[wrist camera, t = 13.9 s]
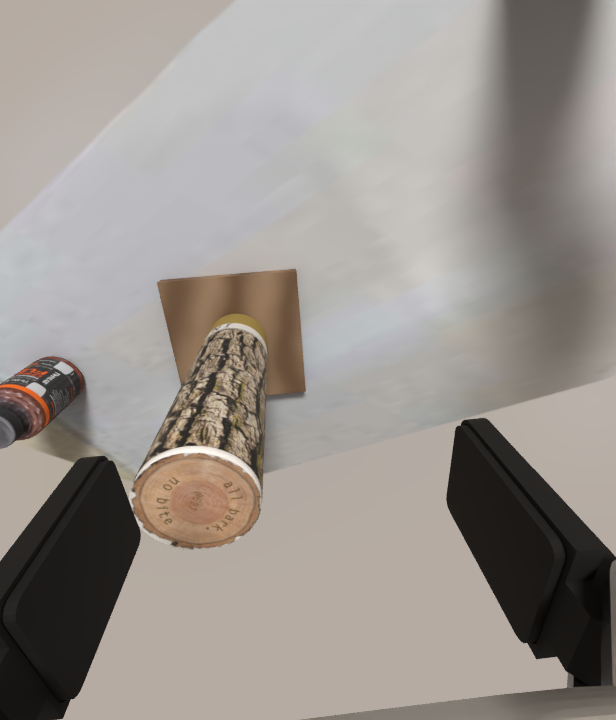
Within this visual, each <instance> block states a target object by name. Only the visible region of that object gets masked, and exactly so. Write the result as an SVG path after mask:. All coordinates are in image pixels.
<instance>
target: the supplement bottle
mask: <svg viewBox="0 0 616 720" xmlns="http://www.w3.org/2000/svg"><path fill="white" fill-rule="evenodd" d="M82 389H83V377H82V375H81V373H80V371H79V370H78V368H77V367H76V366H75V365H73V364H72V363H71V362H69V361H67V360H65V359H62V358H59V357H44V358H41V359H39V360H37V361H35V362H33V363H32V364H30V365H29V366H28V367H26V368H24V369H23V370H21V371H20V372H18V373H17V374H15V375H14V376H12V377H11V378H9V379H7V380H6V381H4V382H3V383H1V384H0V449H1V448H5V447H8V446H9V445H11V444H12V443H13V442H15V441H16V440H25V439H29V438H31V437H33V436H35V435H37V434H38V433H39V432H40V431H42V430H43V429H44V428H45V427H46V426H47V425H48V424H49V423H50V422H51V421H52V420H53V419H54V418H55V417H56V416H57V415H58V414H59V413H60V412H61V411H62V410H63V409H65V408H66V407H67V406H68V405H69V404H70V403H71V402H72V401H73V400H74V399H75V398H76V397H77V396H78V395H79V394H80V392H81V391H82Z"/></svg>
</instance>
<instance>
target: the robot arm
mask: <svg viewBox="0 0 616 720" xmlns="http://www.w3.org/2000/svg"><path fill="white" fill-rule="evenodd" d="M447 505H448V508H449V511H450V513H451V515H452V517H453V518H454V520H455V522H456V524H457V526H458V528H459V530H460V531H461V533H462V535H463V537H464V539H465V541H466V543H467V545H468V546H469V548H470V550H471V552H472V554H473V555H474V557H475V559H476V561H477V563H478V565H479V567H480V569H481V570H482V572H483V574H484V576H485V578H486V579H487V582H488V584H489V585H490V587H491V589H492V591H493V593H494V595H495V596H496V598H497V600H498V602H499V604H500V606H501V608H502V610H503V611H504V613H505V615H506V617H507V619H508V621H509V623H510V624H511V626H512V628H513V630H514V632H515V634H516V635H517V637H518V638H519V640H520V641H521V642H523V643H528V645H529V647H530V648H531V650H532V652H533V654H534V656H535V658H536V659H540V658H549V657H558V659H559V660H560V662H561V663H562V665H563V667H564V669H565V670H566V671H567V672H568V680H567V688H564V689H554V690H544V691H534V692H525V693H514V694H504V695H495V696H487V697H479V698H471V699H463V700H454V701H447V702H438V703H430V704H422V705H414V706H405V707H398V708H389V709H381V710H374V711H365V712H357V713H350V714H342V715H334V716H326V717H318V718H310V719H303V720H616V557H615V556H614V555H613V554H612V552H611V551H610V550H609V549H608V548H607V547H606V546H605V545H604V544H603V543H602V542H601V541H600V539H599V538H598V537H596V535H595V534H594V533H593V532H592V531H591V530H590V529H589V528H588V527H587V526H586V524H584V522H583V521H582V520H581V519H580V518H579V517H578V516H577V515H576V514H575V513H574V512H573V510H572V509H571V508H570V507H569V506H568V505H567V504H566V503H565V502H564V501H563V500H562V498H560V496H559V495H558V494H557V493H556V492H555V491H554V490H553V489H552V488H551V487H550V486H549V484H548V483H547V482H546V481H545V480H544V479H543V478H542V477H541V476H540V475H539V474H538V473H537V472H536V470H535V469H533V468H532V467H531V466H530V465H529V464H528V462H527V461H526V460H525V459H524V458H523V457H522V456H521V455H520V454H519V453H518V452H517V451H516V449H515V448H514V447H513V446H512V445H511V444H510V443H509V442H508V441H507V440H506V439H505V438H504V437H503V435H502V434H501V433H500V432H499V431H498V430H497V429H496V428H495V427H494V426H493V425H492V424H491V423H490V421H489V420H487V419H485V418H479V419H469V420H464V421H463V422H462V423H461V426H457V427H456V430H455V438H454V445H453V452H452V459H451V467H450V474H449V482H448V489H447ZM140 537H141V534H140V529H139V526H138V523H137V521H136V518H135V516H134V513H133V510H132V508H131V505H130V502H129V500H128V497H127V494H126V492H125V489H124V487H123V484H122V481H121V479H120V476H119V473H118V471H117V468H116V466H115V463H114V462H113V461H109V460H108V459H107V458H106V457H105V456H96V457H86V458H80V459H79V460H77V461H76V463H75V464H74V465H73V467H72V468H71V469H70V470H69V472H68V473H67V474H66V476H65V477H64V478H63V480H62V481H61V482H60V484H59V485H58V486H57V488H56V489H55V490H54V491H53V493H52V494H51V495H50V497H49V498H48V499H47V501H46V502H45V504H44V505H43V506H42V507H41V509H40V510H39V511H38V513H37V514H36V515H35V516H34V518H33V519H32V521H31V522H30V523H29V524H28V526H27V527H26V528H25V530H24V531H23V532H22V534H21V535H20V536H19V537H18V539H17V540H16V541H15V543H14V544H13V545H12V547H11V548H10V549H9V551H8V552H7V553H6V555H5V556H4V557H3V558H2V560H1V561H0V720H57V719H63V717H64V714H65V712H66V709H67V707H68V705H69V702H70V700H71V699H74V698H75V697H76V696H77V695H78V694H79V692H80V690H81V688H82V686H83V683H84V681H85V678H86V676H87V673H88V671H89V668H90V666H91V663H92V661H93V658H94V656H95V653H96V651H97V649H98V646H99V643H100V641H101V639H102V636H103V634H104V631H105V628H106V626H107V623H108V621H109V619H110V616H111V613H112V611H113V609H114V606H115V603H116V601H117V599H118V596H119V594H120V591H121V589H122V586H123V584H124V581H125V579H126V576H127V573H128V571H129V569H130V566H131V564H132V561H133V559H134V556H135V554H136V551H137V549H138V546H139V543H140Z"/></svg>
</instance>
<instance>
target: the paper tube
mask: <svg viewBox="0 0 616 720" xmlns="http://www.w3.org/2000/svg"><path fill="white" fill-rule="evenodd" d="M267 345H268V341H267V336H266V333H265V330H264V329H263V327H262V326H261V324H260V323H259V322H258V321H256V320H255V319H253V318H252V317H250V316H247V315H244V314H230V315H226V316H224V317H222V318H220V319H219V320H217V321H216V322H215V323H214V324H213V326H212V327H211V329H210V331H209V333H208V335H207V337H206V338H205V340H204V342H203V344H202V346H201V348H200V350H199V352H198V354H197V356H196V358H195V360H194V362H193V364H192V366H191V368H190V370H189V372H188V374H187V376H186V378H185V380H184V382H183V384H182V386H181V388H180V390H179V392H178V394H177V396H176V398H175V400H174V402H173V404H172V406H171V408H170V410H169V412H168V414H167V416H166V418H165V420H164V422H163V424H162V426H161V428H160V430H159V432H158V434H157V436H156V438H155V440H154V442H153V444H152V446H151V448H150V450H149V452H148V453H147V455H146V457H145V459H144V461H143V463H142V465H141V467H140V469H139V471H138V473H137V475H136V477H135V480H134V483H133V485H132V487H131V490H130V495H129V502H130V505H131V508H132V510H133V513H134V516H135V518H136V521H137V523H138V525H139V526H140V527H141V528H142V530H144V531H145V532H146V533H147V534H148V535H150V536H151V537H152V538H154V539H156V540H158V541H159V542H162V543H164V544H166V545H169V546H172V547H176V548H181V549H187V550H208V549H214V548H219V547H222V546H225V545H228V544H230V543H232V542H234V541H236V540H238V539H240V538H241V537H243V536H244V535H245V534H246V533H247V532H248V531H250V529H251V528H252V527H253V526H254V524H255V523H256V521H257V519H258V517H259V514H260V510H261V503H262V489H263V462H264V434H265V407H266V379H267Z"/></svg>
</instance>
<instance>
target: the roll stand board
mask: <svg viewBox="0 0 616 720" xmlns="http://www.w3.org/2000/svg"><path fill="white" fill-rule="evenodd" d="M157 285H158V289H159V293H160V298H161V302H162V306H163V310H164V314H165V319H166V323H167V327H168V331H169V336H170V340H171V344H172V348H173V352H174V357H175V361H176V365H177V369H178V374H179V378H180V382H181V386H182V384H183V382H184V380H185V378H186V376H187V374H188V372H189V370H190V368H191V366H192V364H193V362H194V360H195V358H196V356H197V354H198V352H199V350H200V348H201V346H202V344H203V342H204V340H205V338H206V337H207V335H208V333H209V331H210V329H211V327H212V326H213V324H214V323H215V322H216V321H217V320H219V319H220V318H222V317H224V316H226V315H230V314H244V315H247V316H250V317H252V318H253V319H255V320H256V321H258V322H259V323H260V324H261V326H262V327H263V329H264V330H265V333H266V336H267V341H268V345H267V379H266V395H274V394H284V393H294V392H304V391H306V389H305V376H304V364H303V351H302V338H301V325H300V312H299V299H298V286H297V273H296V269H290V270H278V271H265V272H253V273H241V274H229V275H217V276H204V277H192V278H180V279H168V280H160V281H159V282H157Z"/></svg>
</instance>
